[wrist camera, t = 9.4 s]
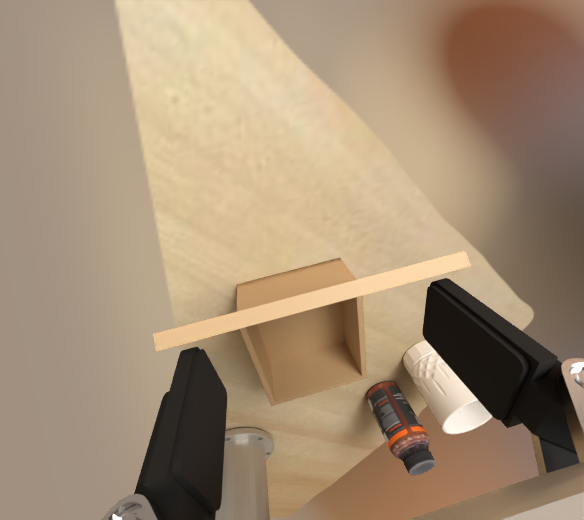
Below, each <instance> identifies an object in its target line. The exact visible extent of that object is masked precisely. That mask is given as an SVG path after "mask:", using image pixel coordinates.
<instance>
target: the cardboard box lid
mask: <svg viewBox="0 0 584 520" xmlns="http://www.w3.org/2000/svg"><path fill="white" fill-rule="evenodd" d="M469 266H471V265H470V262H469V259H468V257H467V254H466V252H465V251H463V252H459V253H455V254H451V255H448V256H444V257H440V258H436V259H433V260H429V261H425V262H421V263H418V264H414V265H410V266H406V267H403V268H399V269H395V270H391V271H388V272H384V273H380V274H376V275H373V276H369V277H365V278H361V279H358V280H354V281H350V282H346V283H343V284H339V285H335V286H331V287H328V288H324V289H320V290H316V291H313V292H309V293H305V294H301V295H298V296H294V297H290V298H286V299H283V300H279V301H275V302H271V303H268V304H264V305H260V306H256V307H253V308H249V309H245V310H241V311H238V312H234V313H230V314H226V315H223V316H219V317H215V318H211V319H208V320H204V321H200V322H196V323H193V324H189V325H185V326H181V327H178V328H174V329H170V330H166V331H163V332H159V333H155V334H153V336H154V341H155V348H156V351H160V350H163V349H167V348H170V347H174V346H178V345H182V344H185V343H189V342H193V341H196V340H200V339H204V338H207V337H211V336H215V335H218V334H222V333H226V332H230V331H233V330H237V329H241V328H244V327H248V326H252V325H255V324H259V323H263V322H266V321H270V320H274V319H277V318H281V317H285V316H288V315H292V314H296V313H300V312H303V311H307V310H311V309H314V308H318V307H322V306H325V305H329V304H333V303H336V302H340V301H344V300H347V299H351V298H355V297H358V296H362V295H366V294H370V293H373V292H377V291H381V290H384V289H388V288H392V287H395V286H399V285H403V284H406V283H410V282H414V281H417V280H421V279H425V278H429V277H432V276H436V275H440V274H443V273H447V272H451V271H454V270H458V269H462V268H465V267H469Z"/></svg>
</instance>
